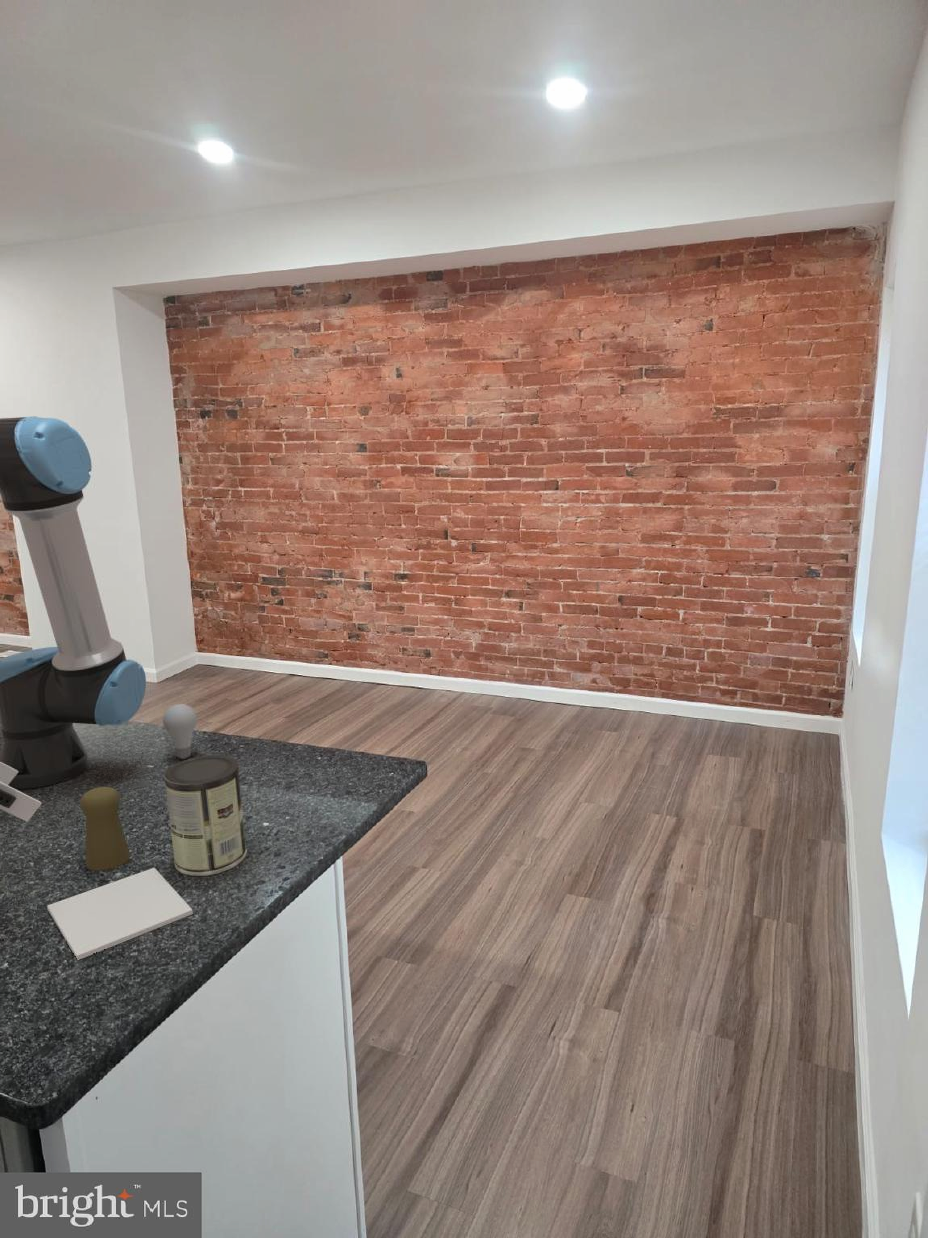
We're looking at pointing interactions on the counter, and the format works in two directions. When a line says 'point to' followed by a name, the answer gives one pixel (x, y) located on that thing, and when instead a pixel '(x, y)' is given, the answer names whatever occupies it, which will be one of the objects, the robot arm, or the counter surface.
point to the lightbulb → (180, 727)
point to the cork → (103, 830)
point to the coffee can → (205, 814)
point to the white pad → (117, 912)
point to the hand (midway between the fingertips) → (22, 795)
